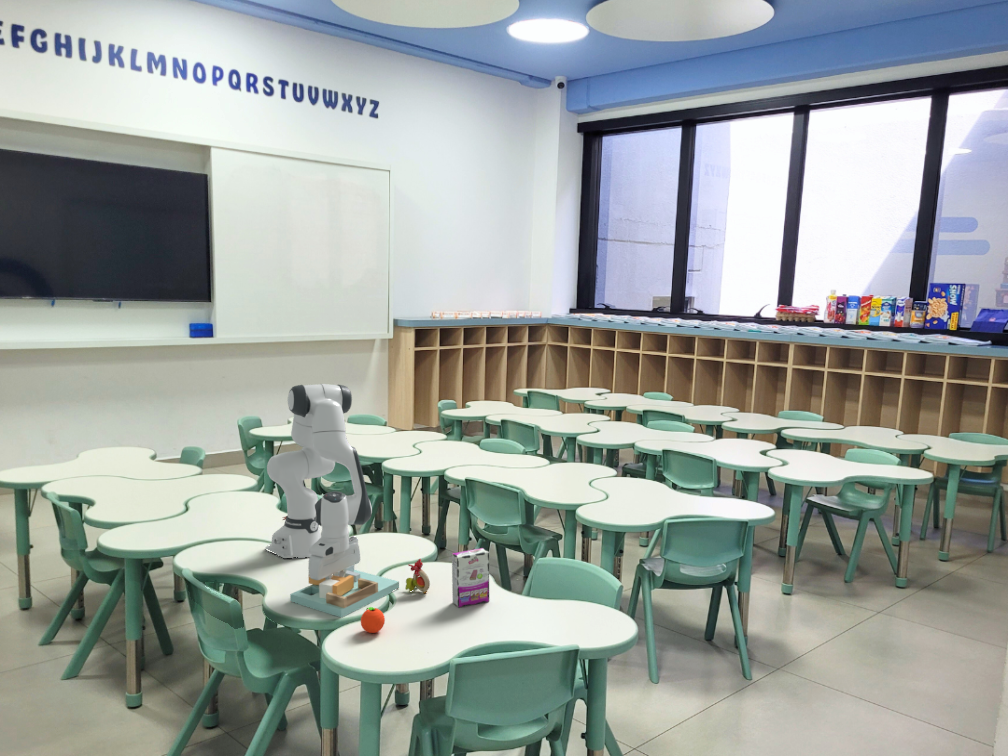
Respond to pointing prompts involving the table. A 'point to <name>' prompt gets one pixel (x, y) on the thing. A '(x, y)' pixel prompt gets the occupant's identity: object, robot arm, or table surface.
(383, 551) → the table surface
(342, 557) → the robot arm
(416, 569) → the bird rattle
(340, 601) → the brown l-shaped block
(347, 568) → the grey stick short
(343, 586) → the rake
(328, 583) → the cube
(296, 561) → the table surface
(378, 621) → the clementine
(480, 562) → the candy bar box
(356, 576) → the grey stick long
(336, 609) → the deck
